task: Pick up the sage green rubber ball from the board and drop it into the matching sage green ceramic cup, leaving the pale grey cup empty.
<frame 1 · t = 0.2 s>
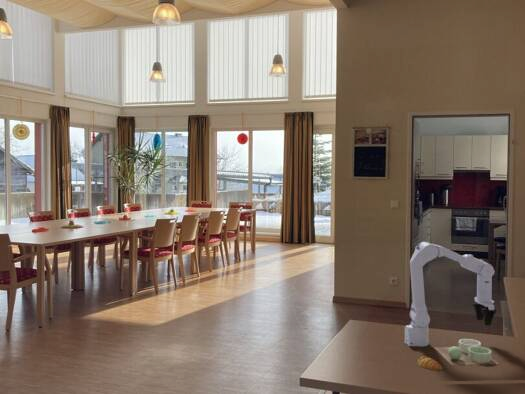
hand: (483, 322, 222), 10 cm above the table, tool pointing down, fingers open, 7 cm apart
board: (464, 357, 208), on the table
cup grey: (469, 350, 213), resting on board
pastry: (429, 369, 198), on the table
cup green: (479, 358, 204), resting on board
ball: (455, 359, 204), point 1 cm above the table, touching board
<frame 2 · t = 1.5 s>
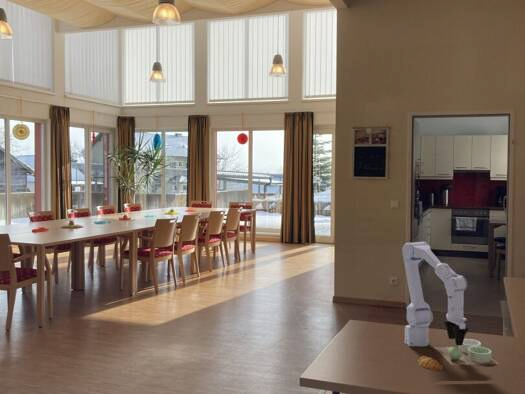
hand: (455, 341, 203), 8 cm above the table, tool pointing down, fingers open, 7 cm apart
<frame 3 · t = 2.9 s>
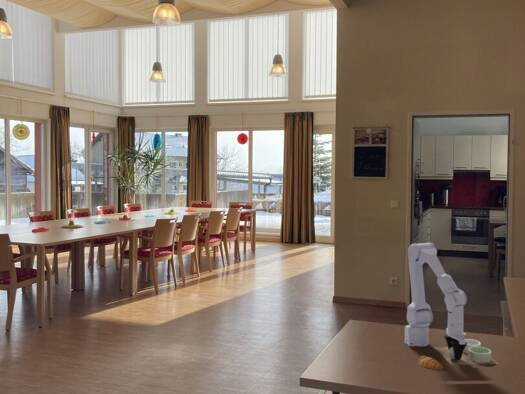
hand: (455, 356, 204), 2 cm above the table, tool pointing down, fingers closed on ball, 5 cm apart
ball: (455, 359, 204), point 1 cm above the table, touching board, gripper
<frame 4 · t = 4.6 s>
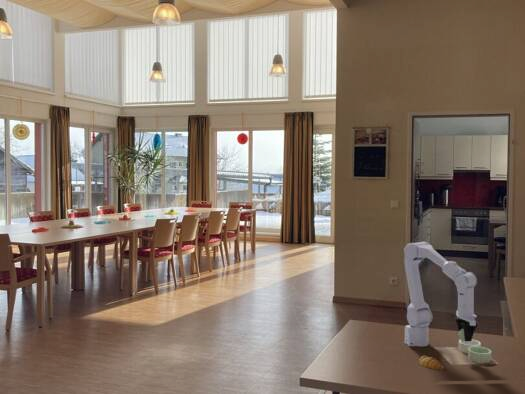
hand: (465, 338, 203), 9 cm above the table, tool pointing down, fingers closed on ball, 5 cm apart
ball: (465, 341, 203), point 8 cm above the table, touching gripper
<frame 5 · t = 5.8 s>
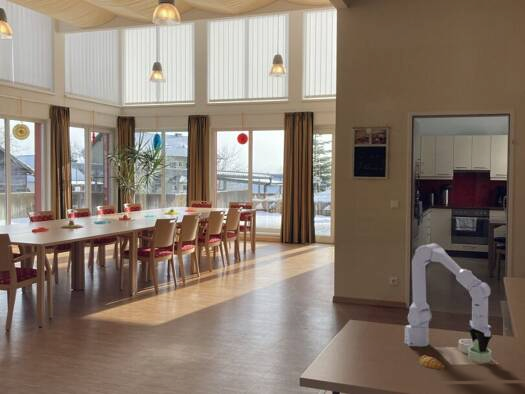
hand: (479, 349, 204), 5 cm above the table, tool pointing down, fingers closed on ball, 5 cm apart
ball: (479, 351, 204), point 4 cm above the table, touching gripper
when the fingers open (5 cm above the table, at t = 6.6 s): ball drops 3 cm, resting on cup green.
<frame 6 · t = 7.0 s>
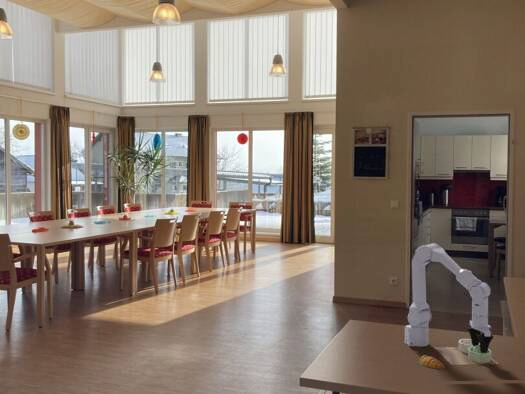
hand: (479, 349, 204), 5 cm above the table, tool pointing down, fingers open, 7 cm apart
ball: (479, 357, 204), point 1 cm above the table, touching cup green
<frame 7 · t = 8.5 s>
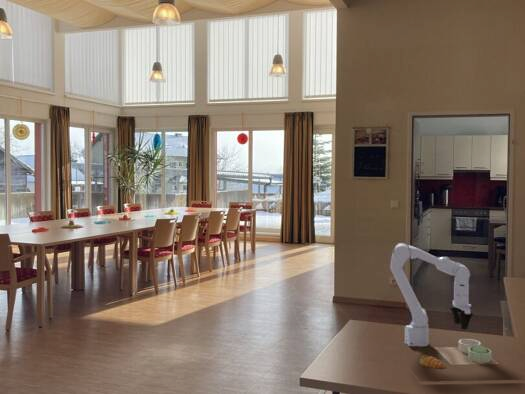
hand: (460, 326, 218), 9 cm above the table, tool pointing down, fingers open, 7 cm apart
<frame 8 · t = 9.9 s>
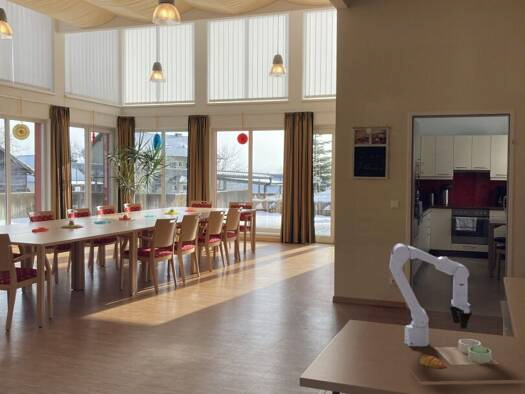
hand: (459, 325, 219), 9 cm above the table, tool pointing down, fingers open, 7 cm apart
at the end: ball 0.0 cm off-centre on the cup green, point 0.4 cm above the cup green's base; the gripper is holding nothing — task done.
